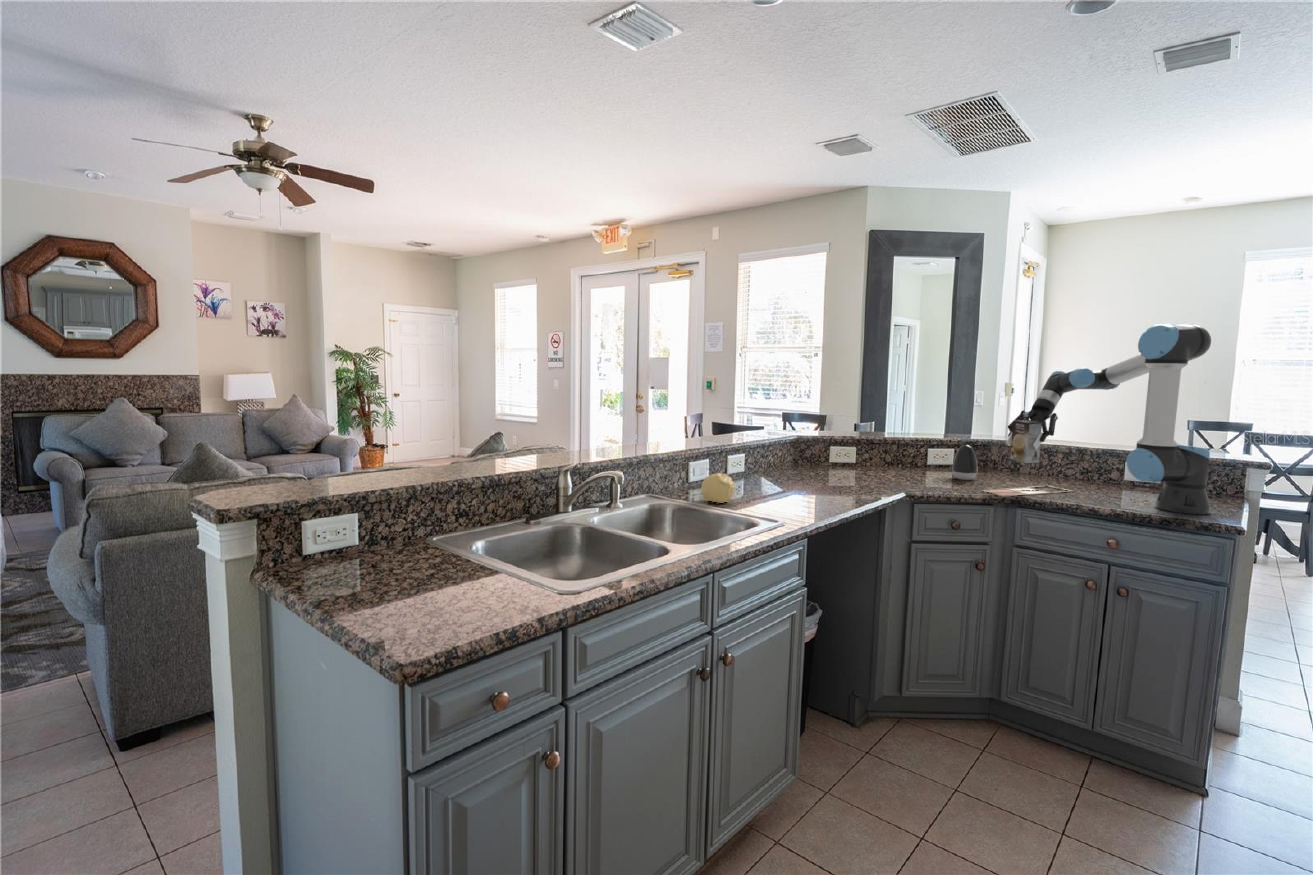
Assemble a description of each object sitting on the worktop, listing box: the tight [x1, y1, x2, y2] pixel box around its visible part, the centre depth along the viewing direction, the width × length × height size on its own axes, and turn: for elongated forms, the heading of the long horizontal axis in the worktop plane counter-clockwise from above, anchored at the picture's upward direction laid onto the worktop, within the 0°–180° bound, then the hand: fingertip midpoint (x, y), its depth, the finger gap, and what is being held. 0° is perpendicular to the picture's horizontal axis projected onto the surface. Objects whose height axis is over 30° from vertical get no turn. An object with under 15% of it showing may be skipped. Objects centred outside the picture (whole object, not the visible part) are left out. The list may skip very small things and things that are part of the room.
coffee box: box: [1010, 419, 1042, 464], centre depth 262 cm, size 9×6×16 cm
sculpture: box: [700, 472, 736, 504], centre depth 236 cm, size 12×12×11 cm
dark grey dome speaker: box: [951, 444, 979, 481], centre depth 287 cm, size 10×10×15 cm
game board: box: [981, 485, 1074, 498], centre depth 261 cm, size 12×35×1 cm, turn 109°
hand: (1021, 445), depth 260 cm, fingers closed on coffee box, 10 cm apart
